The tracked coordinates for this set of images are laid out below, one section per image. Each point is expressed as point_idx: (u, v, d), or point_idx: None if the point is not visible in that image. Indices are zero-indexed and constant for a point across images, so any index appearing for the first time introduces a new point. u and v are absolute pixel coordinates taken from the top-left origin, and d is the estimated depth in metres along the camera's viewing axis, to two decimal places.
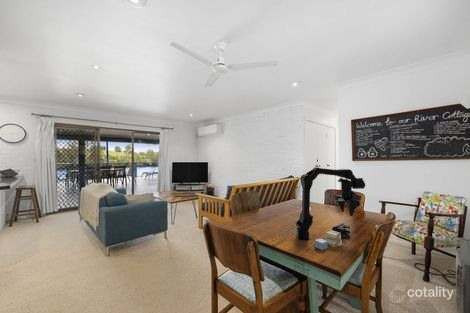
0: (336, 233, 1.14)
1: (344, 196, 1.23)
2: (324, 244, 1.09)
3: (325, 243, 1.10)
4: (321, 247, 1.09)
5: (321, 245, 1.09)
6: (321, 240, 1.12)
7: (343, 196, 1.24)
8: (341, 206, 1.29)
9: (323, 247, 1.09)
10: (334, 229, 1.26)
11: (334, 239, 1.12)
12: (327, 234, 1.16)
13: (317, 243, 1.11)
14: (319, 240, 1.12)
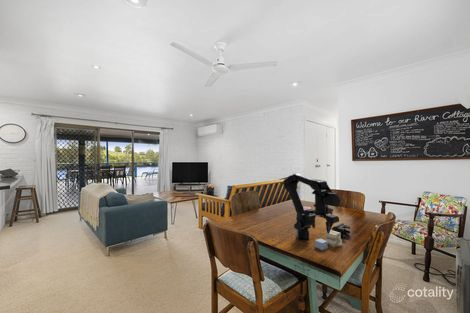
0: (336, 233, 1.14)
1: (320, 211, 1.09)
2: (324, 244, 1.09)
3: (325, 243, 1.10)
4: (321, 247, 1.09)
5: (321, 245, 1.09)
6: (321, 240, 1.12)
7: (319, 211, 1.09)
8: (312, 222, 1.15)
9: (323, 247, 1.09)
10: (334, 229, 1.26)
11: (334, 239, 1.12)
12: (327, 234, 1.16)
13: (317, 243, 1.11)
14: (319, 240, 1.12)
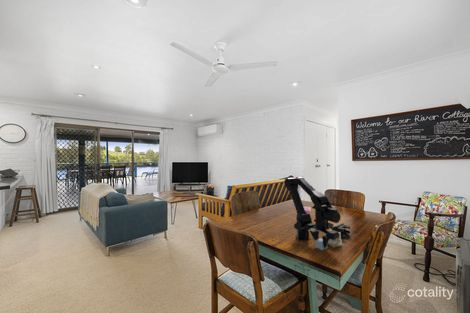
0: None
1: (320, 227, 1.09)
2: None
3: None
4: (321, 247, 1.09)
5: (321, 245, 1.09)
6: (321, 240, 1.12)
7: (319, 227, 1.09)
8: (316, 238, 1.13)
9: (323, 247, 1.09)
10: (334, 229, 1.26)
11: (334, 239, 1.12)
12: None
13: (317, 243, 1.11)
14: (319, 240, 1.12)
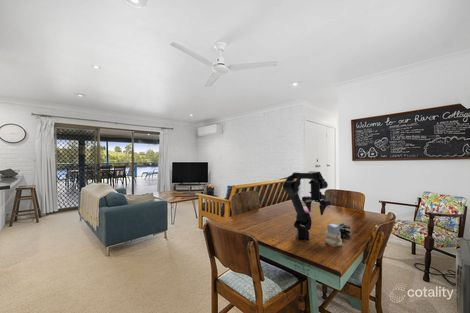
0: None
1: (315, 197, 1.30)
2: (336, 229, 1.14)
3: (337, 227, 1.14)
4: (333, 231, 1.13)
5: (333, 229, 1.13)
6: (333, 225, 1.16)
7: (314, 197, 1.30)
8: (309, 207, 1.36)
9: (335, 231, 1.13)
10: None
11: (333, 238, 1.13)
12: (327, 233, 1.16)
13: (329, 227, 1.15)
14: (331, 225, 1.16)
